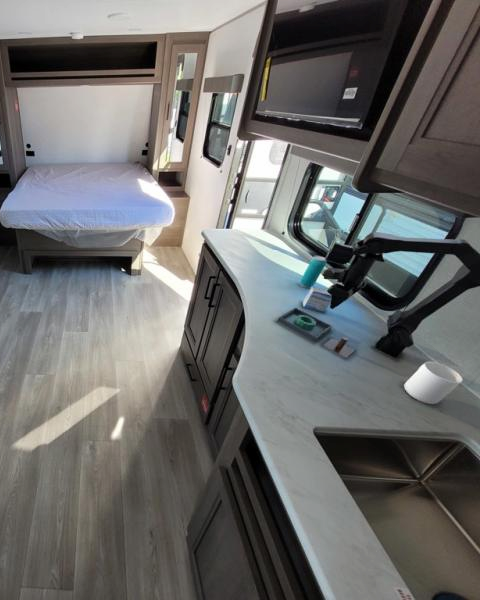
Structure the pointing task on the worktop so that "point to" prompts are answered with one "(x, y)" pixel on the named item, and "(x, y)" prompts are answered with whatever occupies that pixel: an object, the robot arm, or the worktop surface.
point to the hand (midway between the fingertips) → (336, 304)
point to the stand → (339, 346)
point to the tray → (301, 331)
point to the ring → (305, 322)
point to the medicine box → (317, 299)
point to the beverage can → (313, 271)
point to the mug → (432, 382)
